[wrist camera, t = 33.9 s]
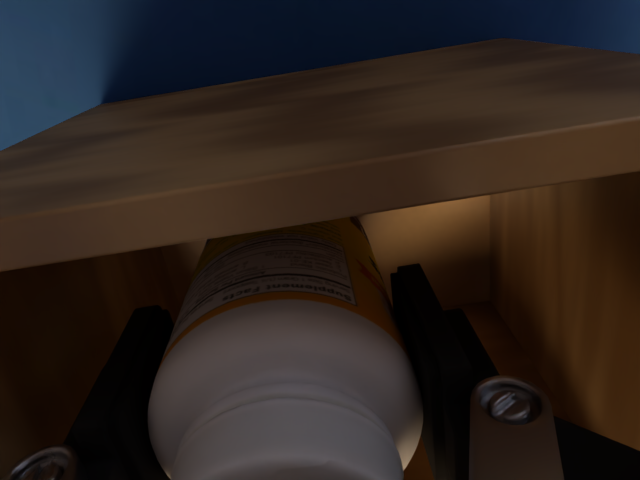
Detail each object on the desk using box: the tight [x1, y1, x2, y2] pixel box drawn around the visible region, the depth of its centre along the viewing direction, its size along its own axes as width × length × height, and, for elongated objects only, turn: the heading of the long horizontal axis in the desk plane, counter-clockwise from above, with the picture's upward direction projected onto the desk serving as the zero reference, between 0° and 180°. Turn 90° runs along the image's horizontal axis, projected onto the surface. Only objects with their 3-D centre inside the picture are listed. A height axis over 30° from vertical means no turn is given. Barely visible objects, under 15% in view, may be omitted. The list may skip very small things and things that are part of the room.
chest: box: [0, 38, 640, 480], centre depth 14 cm, size 15×11×12 cm
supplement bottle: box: [148, 216, 423, 480], centre depth 12 cm, size 6×6×10 cm
